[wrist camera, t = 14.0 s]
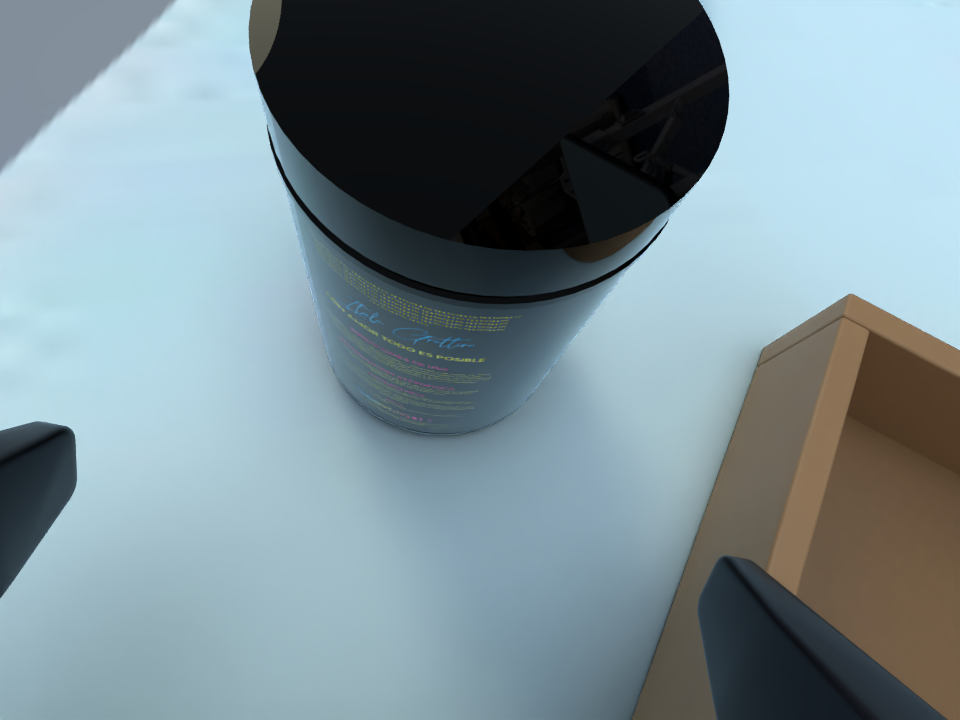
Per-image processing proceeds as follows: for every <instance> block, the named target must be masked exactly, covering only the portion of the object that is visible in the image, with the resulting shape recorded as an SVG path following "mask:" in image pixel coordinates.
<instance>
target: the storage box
mask: <svg viewBox="0 0 960 720" xmlns="http://www.w3.org/2000/svg"><path fill="white" fill-rule="evenodd" d="M757 367H758V368H757V369H756V370H755V373H754V376H753V379H752V382H751V384H750V387H749V390H748V393H747V396H746V399H745V401H744V404H743V407H742V410H741V413H740V415H739V418H738V421H737V424H736V427H735V430H734V432H733V435H732V438H731V441H730V444H729V446H728V449H727V452H726V455H725V458H724V460H723V463H722V466H721V469H720V472H719V475H718V477H717V480H716V483H715V486H714V489H713V491H712V494H711V497H710V500H709V503H708V506H707V508H706V511H705V514H704V517H703V520H702V522H701V525H700V528H699V531H698V534H697V536H696V539H695V542H694V545H693V548H692V551H691V553H690V556H689V559H688V562H687V565H686V567H685V570H684V573H683V576H682V579H681V582H680V584H679V587H678V590H677V593H676V596H675V598H674V601H673V604H672V607H671V610H670V612H669V615H668V618H667V621H666V624H665V627H664V629H663V632H662V635H661V638H660V641H659V643H658V646H657V649H656V652H655V655H654V658H653V660H652V663H651V666H650V669H649V672H648V674H647V677H646V680H645V683H644V686H643V688H642V691H641V694H640V697H639V700H638V703H637V705H636V708H635V711H634V714H633V717H632V719H631V720H717V719H716V714H715V709H714V705H713V699H712V694H711V688H710V682H709V677H708V671H707V665H706V660H705V654H704V648H703V643H702V637H701V631H700V626H699V620H698V613H697V605H698V600H699V596H700V594H701V592H702V590H703V588H704V586H705V583H706V581H707V579H708V577H709V575H710V573H711V571H712V569H713V567H714V565H715V563H716V561H717V560H718V559H719V558H720V557H721V556H724V555H729V556H735V557H740V558H745V559H749V560H751V561H753V562H755V563H756V564H757V565H758V566H760V567H761V568H762V569H763V570H764V571H766V572H767V573H768V574H769V575H771V576H772V577H773V578H774V579H776V580H777V581H778V582H779V583H780V584H782V585H783V586H784V587H785V588H787V589H788V590H789V591H790V592H792V593H793V594H794V595H795V596H796V597H798V598H799V599H800V600H801V601H803V602H804V603H805V604H806V605H808V606H809V607H810V608H811V609H812V610H814V611H815V612H816V613H817V614H819V615H820V616H821V617H822V618H824V619H825V620H826V621H827V622H828V623H830V624H831V625H832V626H833V627H835V628H836V629H837V630H838V631H839V632H841V633H842V634H843V635H844V636H846V637H847V638H848V639H849V640H851V641H852V642H853V643H854V644H855V645H857V646H858V647H859V648H860V649H862V650H863V651H864V652H865V653H867V654H868V655H869V656H870V657H871V658H873V659H874V660H875V661H876V662H878V663H879V664H880V665H881V666H883V667H884V668H885V669H886V670H887V671H889V672H890V673H891V674H892V675H894V676H895V677H896V678H897V679H899V680H900V681H901V682H902V683H903V684H905V685H906V686H907V687H908V688H910V689H911V690H912V691H913V692H915V693H916V694H917V695H918V696H919V697H921V698H922V699H923V700H924V701H926V702H927V703H928V704H929V705H931V706H932V707H933V708H934V709H935V710H937V711H938V712H939V713H940V714H942V715H943V716H944V717H945V718H947V719H948V720H960V350H958V349H956V348H954V347H952V346H951V345H949V344H947V343H945V342H943V341H941V340H939V339H937V338H935V337H933V336H932V335H930V334H928V333H926V332H924V331H922V330H920V329H918V328H916V327H914V326H913V325H911V324H909V323H907V322H905V321H903V320H901V319H899V318H897V317H895V316H894V315H892V314H890V313H888V312H886V311H884V310H882V309H880V308H878V307H876V306H875V305H873V304H871V303H869V302H867V301H865V300H863V299H861V298H859V297H857V296H856V295H854V294H848V295H847V296H845V297H844V298H842V299H840V300H839V301H837V302H836V303H834V304H833V305H831V306H829V307H828V308H826V309H825V310H823V311H821V312H820V313H818V314H817V315H815V316H814V317H812V318H810V319H809V320H807V321H806V322H804V323H802V324H801V325H799V326H798V327H796V328H795V329H793V330H791V331H790V332H788V333H787V334H785V335H783V336H782V337H780V338H779V339H777V340H776V341H774V342H772V343H771V344H769V345H768V346H766V347H764V348H763V351H762V353H761V356H760V359H759V362H758V365H757Z"/></svg>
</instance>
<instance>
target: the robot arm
mask: <svg viewBox="0 0 960 720" xmlns="http://www.w3.org/2000/svg"><path fill="white" fill-rule="evenodd" d="M76 482H77V466H76V444H75V435H74V433H73V431H72V430H71V429H70V428H69V427H67V426H62V425H57V424H52V423H47V422H32V423H28V424H24V425H21V426H17V427H13V428H10V429H6V430H2V431H0V598H1V597H2V596H3V594H4V593H5V591H6V590H7V589H8V587H9V586H10V585H11V583H12V582H13V581H14V579H15V578H16V576H17V575H18V573H19V572H20V570H21V569H22V568H23V566H24V565H25V563H26V562H27V560H28V559H29V557H30V556H31V555H32V553H33V552H34V550H35V549H36V547H37V546H38V544H39V543H40V541H41V540H42V539H43V537H44V536H45V534H46V533H47V531H48V530H49V528H50V527H51V526H52V524H53V523H54V521H55V520H56V518H57V517H58V515H59V514H60V512H61V511H62V510H63V508H64V507H65V505H66V504H67V502H68V501H69V499H70V498H71V496H72V494H73V492H74V490H75V487H76ZM697 613H698V620H699V626H700V631H701V637H702V643H703V648H704V654H705V660H706V665H707V671H708V677H709V682H710V688H711V694H712V699H713V705H714V709H715V714H716V719H717V720H948V719H947V718H945V717H944V716H943V715H942V714H940V713H939V712H938V711H937V710H935V709H934V708H933V707H932V706H931V705H929V704H928V703H927V702H926V701H924V700H923V699H922V698H921V697H919V696H918V695H917V694H916V693H915V692H913V691H912V690H911V689H910V688H908V687H907V686H906V685H905V684H903V683H902V682H901V681H900V680H899V679H897V678H896V677H895V676H894V675H892V674H891V673H890V672H889V671H887V670H886V669H885V668H884V667H883V666H881V665H880V664H879V663H878V662H876V661H875V660H874V659H873V658H871V657H870V656H869V655H868V654H867V653H865V652H864V651H863V650H862V649H860V648H859V647H858V646H857V645H855V644H854V643H853V642H852V641H851V640H849V639H848V638H847V637H846V636H844V635H843V634H842V633H841V632H839V631H838V630H837V629H836V628H835V627H833V626H832V625H831V624H830V623H828V622H827V621H826V620H825V619H824V618H822V617H821V616H820V615H819V614H817V613H816V612H815V611H814V610H812V609H811V608H810V607H809V606H808V605H806V604H805V603H804V602H803V601H801V600H800V599H799V598H798V597H796V596H795V595H794V594H793V593H792V592H790V591H789V590H788V589H787V588H785V587H784V586H783V585H782V584H780V583H779V582H778V581H777V580H776V579H774V578H773V577H772V576H771V575H769V574H768V573H767V572H766V571H764V570H763V569H762V568H761V567H760V566H758V565H757V564H756V563H755V562H753V561H751V560H749V559H745V558H740V557H735V556H729V555H724V556H721V557H720V558H719V559H718V560H717V561H716V563H715V565H714V567H713V569H712V571H711V573H710V575H709V577H708V579H707V581H706V583H705V586H704V588H703V590H702V592H701V594H700V596H699V600H698V605H697Z"/></svg>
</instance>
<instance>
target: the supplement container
mask: <svg viewBox="0 0 960 720" xmlns="http://www.w3.org/2000/svg"><path fill="white" fill-rule="evenodd" d="M249 47H250V54H251V59H252V65H253V70H254V74H255V78H256V82H257V86H258V90H259V94H260V98H261V102H262V106H263V109H264V113H265V117H266V121H267V130H268V135H269V141H270V146H271V150H272V154H273V157H274V160H275V163H276V166H277V170H278V173H279V175H280V177H281V179H282V181H283V184H284V186H285V188H286V192H287V197H288V201H289V205H290V209H291V213H292V217H293V221H294V225H295V229H296V233H297V237H298V241H299V245H300V249H301V253H302V257H303V261H304V265H305V269H306V273H307V277H308V281H309V285H310V289H311V293H312V298H313V302H314V306H315V310H316V314H317V318H318V322H319V326H320V330H321V334H322V338H323V342H324V346H325V350H326V353H327V356H328V359H329V362H330V364H331V366H332V369H333V371H334V373H335V374H336V376H337V378H338V379H339V381H340V383H341V384H342V385H343V387H344V388H345V389H346V391H347V392H348V393H349V394H350V395H351V396H352V397H353V398H354V399H355V400H356V401H357V402H358V403H359V404H360V405H361V406H362V407H364V408H365V409H366V410H368V411H369V412H370V413H372V414H373V415H375V416H376V417H378V418H380V419H382V420H383V421H385V422H387V423H389V424H392V425H394V426H396V427H399V428H402V429H405V430H408V431H412V432H417V433H422V434H430V435H455V434H463V433H468V432H473V431H476V430H479V429H483V428H485V427H488V426H490V425H492V424H495V423H497V422H499V421H500V420H502V419H504V418H506V417H507V416H509V415H510V414H511V413H513V412H514V411H516V410H517V409H518V408H519V407H520V406H521V405H522V404H523V403H524V402H525V401H526V400H527V399H528V398H529V397H530V396H531V395H532V393H533V392H534V391H535V390H536V388H537V387H538V386H539V384H540V383H541V382H542V380H543V379H544V378H545V377H546V375H547V374H548V373H549V371H550V370H551V369H552V367H553V366H554V365H555V363H556V362H557V361H558V360H559V358H560V357H561V356H562V354H563V353H564V352H565V350H566V349H567V348H568V347H569V345H570V344H571V343H572V341H573V340H574V339H575V337H576V336H577V335H578V333H579V332H580V331H581V330H582V328H583V327H584V326H585V324H586V323H587V322H588V320H589V319H590V318H591V317H592V315H593V314H594V313H595V311H596V310H597V309H598V307H599V306H600V305H601V304H602V302H603V301H604V300H605V298H606V297H607V296H608V294H609V293H610V292H611V290H612V289H613V288H614V287H615V285H616V284H617V283H618V281H619V280H620V279H621V277H622V276H623V275H624V274H625V272H626V271H627V270H628V268H629V267H630V266H631V265H632V264H634V263H635V262H636V261H637V260H638V259H639V258H640V257H641V256H642V255H643V254H644V253H645V252H646V251H647V249H648V248H649V247H650V246H651V245H652V244H653V242H654V241H655V240H656V238H657V237H658V236H659V234H660V233H661V231H662V230H663V228H664V227H665V226H666V224H667V222H668V220H669V218H670V217H671V216H672V215H673V213H674V212H675V211H676V209H677V208H678V207H679V205H680V204H681V203H682V202H683V200H684V199H685V198H686V196H687V195H688V194H689V193H690V191H691V190H692V189H693V187H694V186H695V185H696V184H697V182H698V181H699V179H700V178H701V177H702V175H703V174H704V172H705V171H706V170H707V168H708V167H709V165H710V163H711V161H712V159H713V158H714V156H715V154H716V152H717V150H718V148H719V145H720V142H721V139H722V136H723V133H724V130H725V125H726V120H727V115H728V106H729V83H728V73H727V68H726V62H725V58H724V54H723V51H722V48H721V45H720V41H719V39H718V36H717V34H716V32H715V29H714V27H713V25H712V23H711V21H710V19H709V17H708V15H707V14H706V12H705V10H704V8H703V6H702V5H701V3H700V2H699V0H253V1H252V5H251V11H250V21H249Z"/></svg>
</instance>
